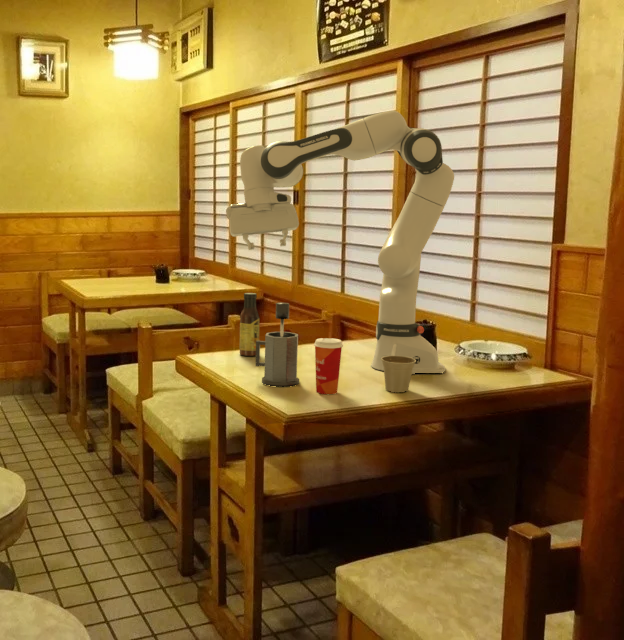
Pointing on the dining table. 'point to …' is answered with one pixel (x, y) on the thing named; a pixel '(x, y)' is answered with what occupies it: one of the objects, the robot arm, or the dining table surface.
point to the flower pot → (397, 372)
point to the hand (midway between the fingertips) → (267, 247)
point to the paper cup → (327, 364)
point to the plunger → (282, 315)
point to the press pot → (279, 359)
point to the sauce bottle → (249, 326)
